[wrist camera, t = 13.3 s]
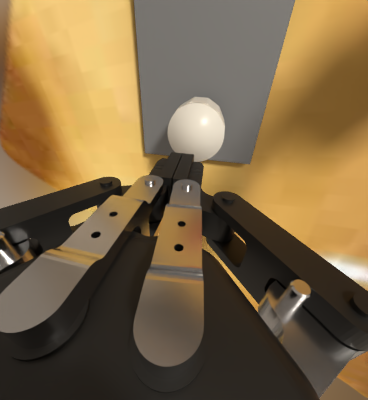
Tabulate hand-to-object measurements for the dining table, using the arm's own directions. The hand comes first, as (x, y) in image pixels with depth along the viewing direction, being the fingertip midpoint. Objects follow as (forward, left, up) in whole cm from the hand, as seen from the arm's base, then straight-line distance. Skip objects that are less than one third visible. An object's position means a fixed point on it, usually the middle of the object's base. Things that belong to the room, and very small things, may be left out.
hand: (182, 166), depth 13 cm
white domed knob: (0, 0, -14) cm, 14 cm away
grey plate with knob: (-6, 0, -17) cm, 18 cm away
